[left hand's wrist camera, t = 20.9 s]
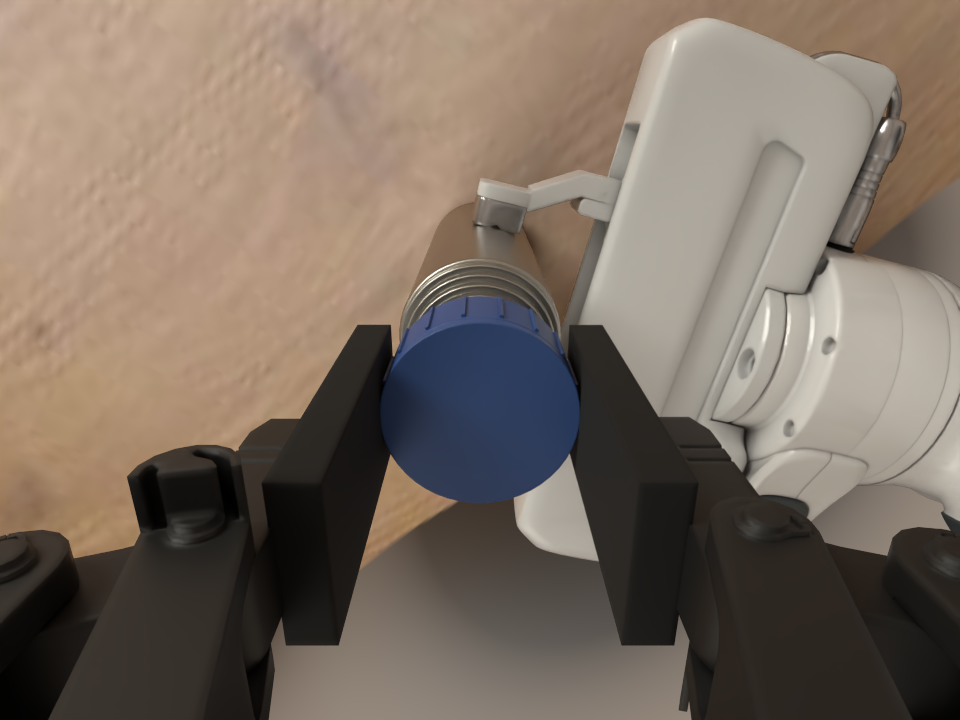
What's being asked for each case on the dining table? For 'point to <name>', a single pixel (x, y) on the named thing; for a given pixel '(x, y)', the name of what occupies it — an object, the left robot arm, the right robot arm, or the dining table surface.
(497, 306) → the cap
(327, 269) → the dining table surface
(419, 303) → the bottle
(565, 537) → the right robot arm
